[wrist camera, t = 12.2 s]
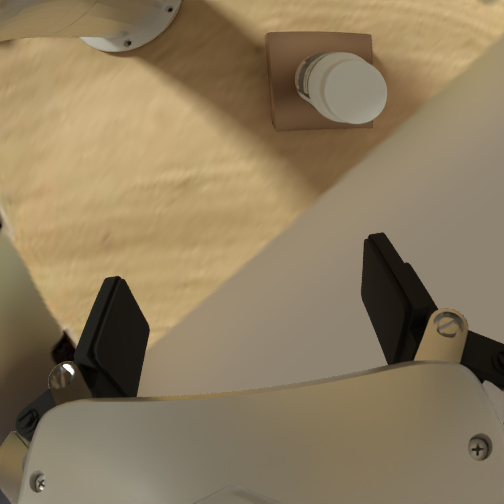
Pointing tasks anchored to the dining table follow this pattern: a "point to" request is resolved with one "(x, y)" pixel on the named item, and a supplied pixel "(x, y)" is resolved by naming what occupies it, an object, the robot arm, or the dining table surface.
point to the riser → (284, 70)
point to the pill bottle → (341, 87)
